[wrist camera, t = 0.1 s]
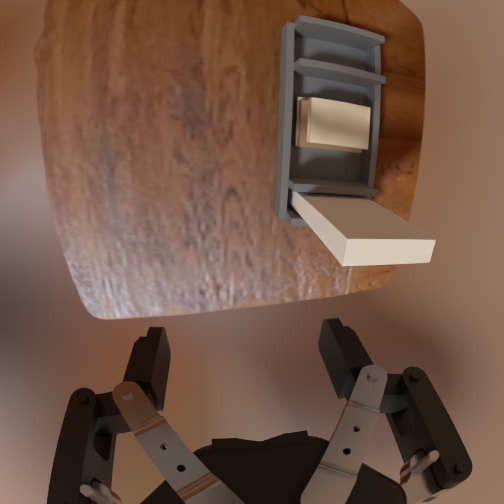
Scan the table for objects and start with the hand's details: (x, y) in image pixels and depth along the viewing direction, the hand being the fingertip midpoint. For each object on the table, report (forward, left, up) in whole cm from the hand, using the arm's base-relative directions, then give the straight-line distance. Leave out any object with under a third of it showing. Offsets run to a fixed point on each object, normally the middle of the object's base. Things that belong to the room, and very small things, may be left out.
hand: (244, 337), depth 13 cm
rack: (-12, +14, -29) cm, 34 cm away
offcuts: (-11, +14, -28) cm, 33 cm away
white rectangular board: (-1, +14, -28) cm, 31 cm away
